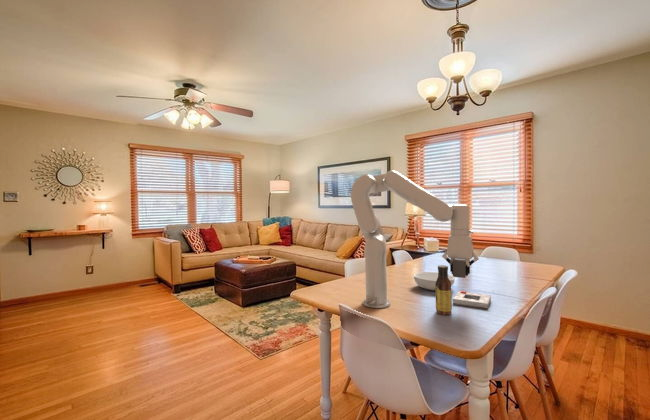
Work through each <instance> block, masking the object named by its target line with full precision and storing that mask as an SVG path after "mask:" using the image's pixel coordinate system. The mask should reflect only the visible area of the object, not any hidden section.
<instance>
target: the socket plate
mask: <svg viewBox="0 0 650 420" xmlns="http://www.w3.org/2000/svg"><path fill="white" fill-rule="evenodd" d="M491 298H492V296H491V295H489V294H482V293H473V292H467V291H465V290H460V291H457V293H456V294H455V295H454V296H453V298H452V305H456V306H461V307H468V308H476V309H482V310H489V307H490V305H491V300H492V299H491Z"/></svg>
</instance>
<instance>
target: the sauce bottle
mask: <svg viewBox="0 0 650 420" xmlns="http://www.w3.org/2000/svg"><path fill="white" fill-rule="evenodd" d="M448 271H449V266H448V265H444V264H443V265H437V273H438V278H437V281H436V284H435V293H434V294H435V309H436V313H437V314H438V315H443V316H449V315H451V314H452V310H453V309H452V308H453V307H452V306H453V298H452V286H451V282H450V280H449V278H448V275H449V274H448V273H449V272H448Z"/></svg>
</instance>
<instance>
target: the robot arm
mask: <svg viewBox="0 0 650 420" xmlns="http://www.w3.org/2000/svg"><path fill="white" fill-rule="evenodd" d="M388 191H389V192H390V191H391V192H392V193H394V194H396V195H397V196H399V197H400V198H402V199H403V200H404V201H406V202H407V203H409V204H411V205H412V206H415V207H418V208H419V209H421V210H423V211H424V212H425V213H427V214H428V215H430V216H432V218H433V219H434V220H436V221H439V222H442V223H443V222H444V223H445V222H448V221H450V234H449V235H448V239H447V249H446V251H445V252H444V253H443V254H442V255H441V257H442V258H443V259H444V260H445V261H446V262H447V263H448V264H449V265H450V266H449V267H450V270H449V271H450V272H451V275H453V260H454V259H462V260H465V261H466V264H467V265H466V276H467V277H468V276H469V274H470V273H471V266H472V265H473V264H474V263H476V262H477V261H479V257H478V256H477V255H476V253H475V252H474V244H473V243H474V242H473V238H472V234H474V230H471V229H470V207H469V205H468V204H461V203H460V204H459V203H458V204H452V205H451V204H448V203H445V202H444V201H443V200H442V199H440V198H438V197H437V196H436V195H434V194H432V193H431V192H429V191H428V190H426V189H424V188H423V187H421V186H419V184H416V183H415V182H414V181H412V180H411V179H409V178H407V177H406V176H405V175H402V173H400V172H399V171H396V170H388V171H387V172H386V173H384V174H375V175H371V174H368V173H367V174H364V173H363V174H362V175H360V176H359V177H358V178H356V180H355V181H354V182H353V184H352V186H351V189H350V201H351V204H352V208H353V210H354V211H353V212H354V214H355V218H356V221H357V224H358V228H359V230H360V231H361V232H362V235H363V237H364V241H365V244H364V259H365V262H364V264H365V267H364V268H365V299H363V300H362V305H363V306H364V307H367V308H372V309H384V308H388V307H390V306H391V301H390V299H388V296H387V295H388V293H387V292H388V288H387V285H388V283H387V240H386V237H385V234H384V231H383V229H382V225H381V222H380V219H379V217H378V216H377V214H375V211H374V207H373V204H372V202H371V199H370V194H375V193H381V192H388ZM471 259H472V260H471Z"/></svg>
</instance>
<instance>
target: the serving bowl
mask: <svg viewBox="0 0 650 420" xmlns="http://www.w3.org/2000/svg"><path fill="white" fill-rule="evenodd" d="M437 278H438V272H435V271H434V272H433V271H425V272H424V271H423V272H421V271H420V272H417V273H414V275H413V280H414V282H415V284H416V285H417V286H419V287H421V288H423V289H425V290H428V291H435V284H436V281H437ZM448 278H449V280H450V282H451V287H452V286H453V285H454V283H455V279H456V277H453V275H452V274H448Z"/></svg>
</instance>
